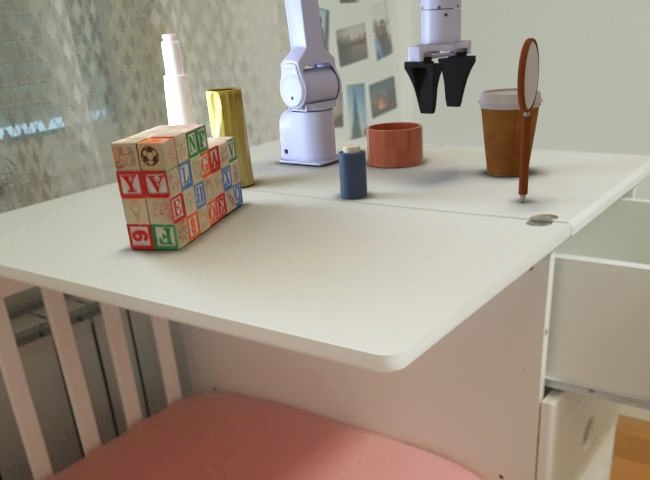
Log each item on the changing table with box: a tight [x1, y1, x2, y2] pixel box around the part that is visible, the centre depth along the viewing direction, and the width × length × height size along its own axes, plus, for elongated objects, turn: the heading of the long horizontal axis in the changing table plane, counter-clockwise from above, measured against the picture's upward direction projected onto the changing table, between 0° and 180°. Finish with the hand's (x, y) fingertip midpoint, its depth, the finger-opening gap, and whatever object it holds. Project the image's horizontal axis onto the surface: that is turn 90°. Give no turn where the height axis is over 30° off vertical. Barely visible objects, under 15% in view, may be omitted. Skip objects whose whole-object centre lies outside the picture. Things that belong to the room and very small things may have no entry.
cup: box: [365, 121, 424, 169], centre depth 122 cm, size 9×9×6 cm
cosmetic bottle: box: [160, 33, 197, 125], centre depth 114 cm, size 6×6×22 cm
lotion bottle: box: [337, 144, 368, 200], centre depth 101 cm, size 4×4×7 cm
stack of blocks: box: [110, 123, 244, 250], centre depth 90 cm, size 21×6×12 cm, turn 168°
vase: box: [205, 86, 256, 189], centre depth 110 cm, size 6×6×14 cm
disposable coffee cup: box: [477, 87, 544, 178], centre depth 109 cm, size 10×10×12 cm
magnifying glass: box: [516, 37, 540, 202], centre depth 90 cm, size 9×2×20 cm, turn 155°
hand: (440, 109), depth 107 cm, fingers open, 7 cm apart
